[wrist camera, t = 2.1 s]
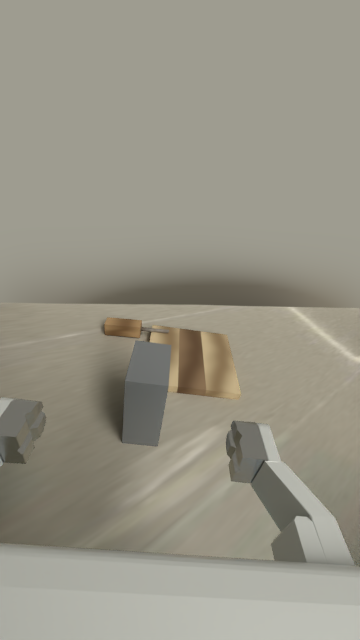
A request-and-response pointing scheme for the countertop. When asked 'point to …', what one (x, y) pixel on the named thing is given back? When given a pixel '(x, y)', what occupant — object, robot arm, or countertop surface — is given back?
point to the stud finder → (146, 393)
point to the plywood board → (199, 363)
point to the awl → (127, 327)
